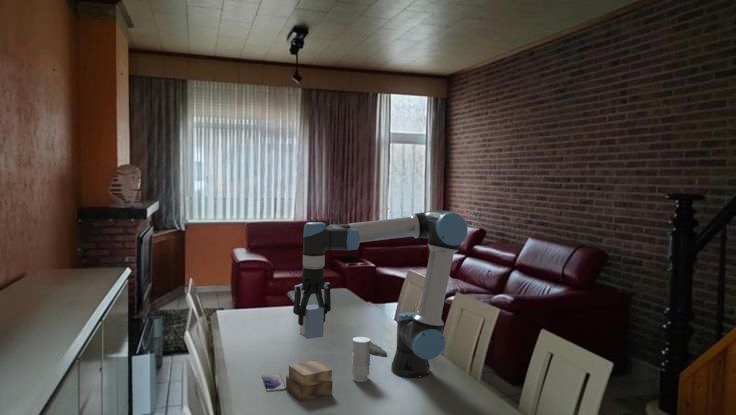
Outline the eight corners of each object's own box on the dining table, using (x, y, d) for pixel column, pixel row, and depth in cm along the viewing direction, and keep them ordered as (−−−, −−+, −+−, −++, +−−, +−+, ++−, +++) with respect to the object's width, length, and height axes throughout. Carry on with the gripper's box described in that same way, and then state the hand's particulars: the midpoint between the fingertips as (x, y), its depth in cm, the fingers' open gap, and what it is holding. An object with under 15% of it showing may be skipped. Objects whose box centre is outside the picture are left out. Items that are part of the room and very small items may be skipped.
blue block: (315, 332, 188) (316, 304, 188) (323, 336, 183) (324, 308, 183) (300, 334, 185) (300, 306, 185) (307, 338, 180) (308, 309, 180)
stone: (393, 350, 227) (374, 353, 221) (392, 358, 227) (373, 361, 222) (370, 338, 241) (352, 340, 235) (370, 345, 241) (351, 347, 236)
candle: (368, 375, 202) (370, 336, 202) (369, 382, 195) (371, 342, 195) (350, 375, 202) (352, 336, 201) (351, 382, 195) (352, 342, 194)
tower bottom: (316, 384, 194) (316, 370, 193) (332, 395, 183) (332, 381, 183) (285, 390, 187) (286, 376, 187) (300, 402, 177) (300, 388, 177)
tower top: (316, 370, 193) (316, 360, 193) (331, 380, 184) (331, 369, 184) (288, 376, 187) (289, 365, 186) (303, 387, 178) (303, 375, 177)
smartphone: (266, 391, 184) (261, 375, 198) (266, 393, 184) (261, 377, 198) (286, 388, 186) (280, 373, 200) (286, 391, 186) (280, 375, 200)
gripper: (332, 263, 191) (330, 326, 192) (283, 266, 181) (281, 333, 182) (342, 267, 185) (340, 332, 186) (292, 270, 175) (290, 339, 176)
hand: (311, 332), depth 184 cm, fingers closed on blue block, 6 cm apart
